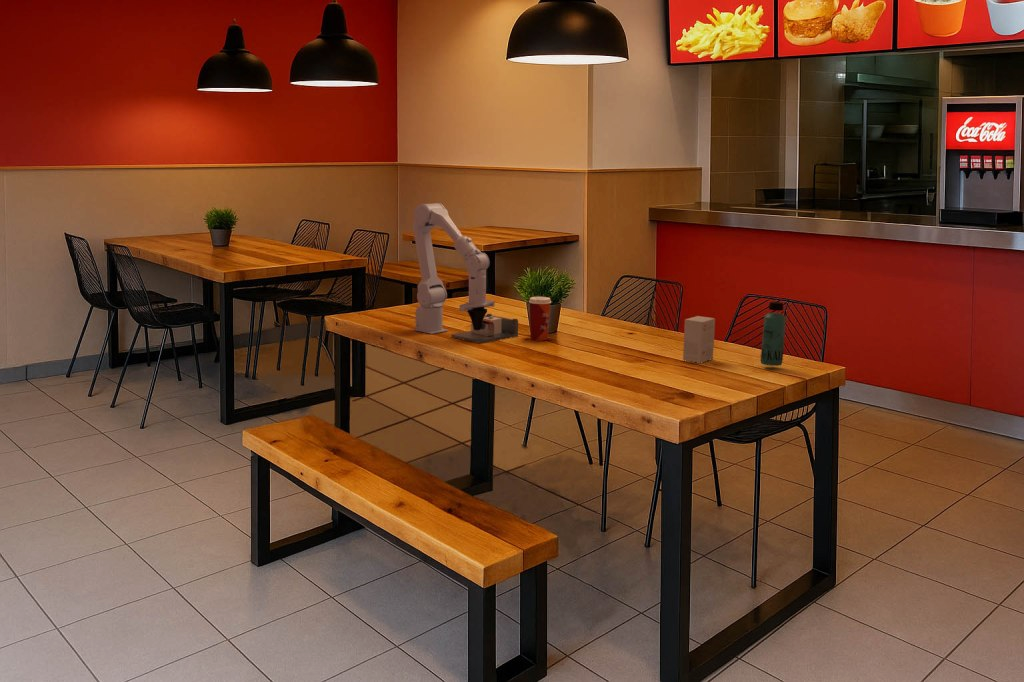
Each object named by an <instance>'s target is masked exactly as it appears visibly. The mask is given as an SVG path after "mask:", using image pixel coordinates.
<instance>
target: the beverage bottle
mask: <svg viewBox="0 0 1024 682" xmlns="http://www.w3.org/2000/svg"><path fill="white" fill-rule="evenodd" d="M768 310H770V311H784V303H783V302H780V301H770V302H769V304H768ZM763 318H764V320H763V329H762V339H761V350H760V364H762V365H765V366H769V367H770V366H772V367H773V366H775V367H776V366H777V367H778V366H781V365H782V364H783V360H784V349H785V333H786V332H785V331H786V322H787V317H786V316H785V315H784V314H783V313H780V312H767V314H765V315H764V316H763Z"/></svg>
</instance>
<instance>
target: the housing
mask: <svg viewBox="0 0 1024 682" xmlns="http://www.w3.org/2000/svg"><path fill="white" fill-rule="evenodd" d="M493 316H494V315H492V316H489V317H486V316H484V318H483V320H487V321H492V322H493V323H494V334H498V333H501V323H502V318H496V317H493Z"/></svg>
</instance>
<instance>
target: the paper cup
mask: <svg viewBox="0 0 1024 682" xmlns="http://www.w3.org/2000/svg"><path fill="white" fill-rule="evenodd" d="M528 303H529V321H530V323H529V325H530V326H529V328H530V339H531V340H532V341H535V340H539V341H538V342H543V341H542V340H545V341H548V339H549V329H550V328H549V325H550V314H551V304H552V300H551V298H550V297H547V296H531V297H530V298H529V300H528Z"/></svg>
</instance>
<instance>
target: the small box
mask: <svg viewBox="0 0 1024 682" xmlns="http://www.w3.org/2000/svg"><path fill="white" fill-rule="evenodd" d="M715 328H716V318H714V317H707V316H700V315H696V316H693V317H690V318H685V319H684V330H683V331H684V332H683V353H682V361H683V360H686V361H685V362H688V361H692V362H691V363H693V362H698V363H697V364H699V363H701V362H704V361H706V362H708V361H707V360H709V361H711V360H710V359H712V360H714V345H715ZM704 363H705V362H704ZM701 364H702V363H701Z"/></svg>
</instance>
